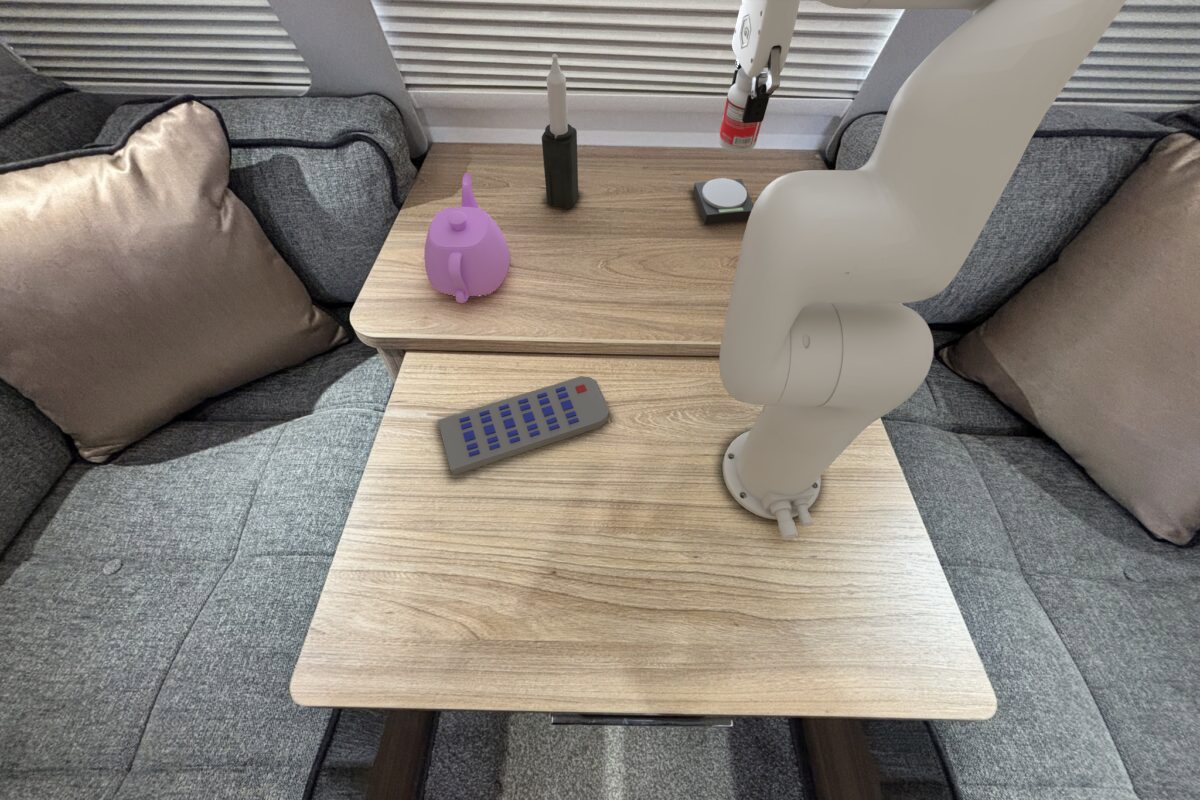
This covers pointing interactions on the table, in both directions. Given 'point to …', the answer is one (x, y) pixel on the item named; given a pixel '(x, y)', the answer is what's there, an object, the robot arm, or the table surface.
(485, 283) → the teapot
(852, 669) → the table surface
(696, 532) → the table surface
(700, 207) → the scale
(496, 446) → the remote control
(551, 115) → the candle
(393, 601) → the table surface
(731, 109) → the pill bottle
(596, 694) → the table surface
